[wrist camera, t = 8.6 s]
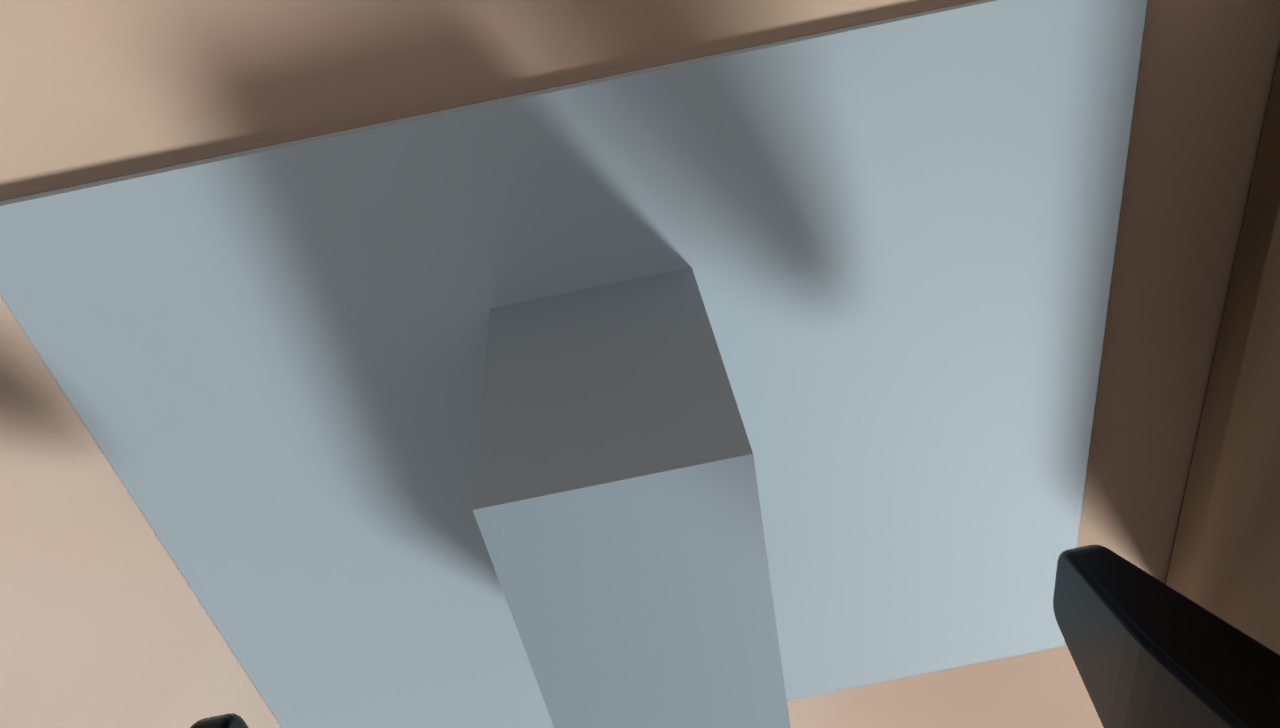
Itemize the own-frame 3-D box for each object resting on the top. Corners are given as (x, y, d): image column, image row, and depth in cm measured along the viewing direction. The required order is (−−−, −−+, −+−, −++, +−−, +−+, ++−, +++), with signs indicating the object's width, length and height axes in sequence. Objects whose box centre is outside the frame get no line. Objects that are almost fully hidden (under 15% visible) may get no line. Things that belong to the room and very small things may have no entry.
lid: (1108, -44, 10) (1442, 52, 6) (1041, 609, 16) (1193, 856, 12) (-12, 188, 10) (-324, 412, 6) (332, 749, 16) (272, 1034, 12)
